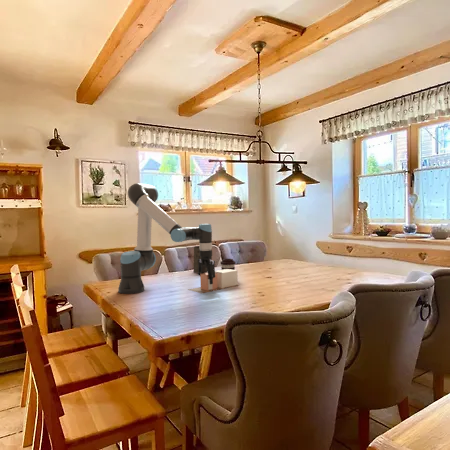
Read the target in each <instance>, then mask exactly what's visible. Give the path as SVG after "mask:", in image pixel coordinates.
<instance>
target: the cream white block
mask: <svg viewBox="0 0 450 450" xmlns="http://www.w3.org/2000/svg"><path fill="white" fill-rule="evenodd" d="M215 273H217V287H219V288H225V287H229V286H234V285H239V283H238V279H239V278H238V270H237V269H235V270H232V269H224V270H222V269H220V270H219V269H218V270H215Z"/></svg>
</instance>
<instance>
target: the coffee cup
mask: <svg viewBox="0 0 450 450" xmlns="http://www.w3.org/2000/svg"><path fill="white" fill-rule="evenodd" d="M220 265H221V269H220V270H224V269H232V270H236V267H235V266H236V261H235V260H234V259H233V258H222V261H220Z"/></svg>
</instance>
